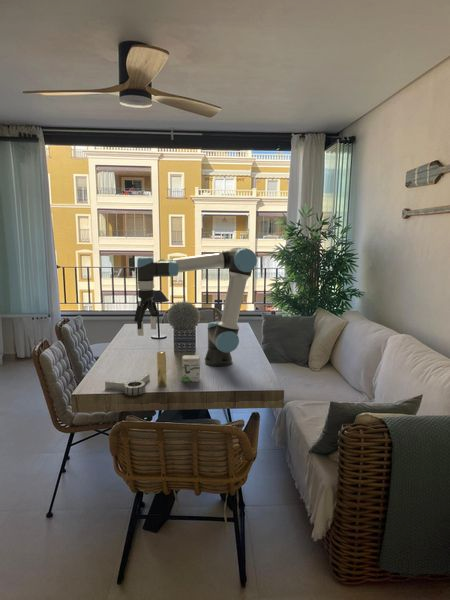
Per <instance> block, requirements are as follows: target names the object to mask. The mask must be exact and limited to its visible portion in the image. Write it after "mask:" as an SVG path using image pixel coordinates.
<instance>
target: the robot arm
mask: <svg viewBox="0 0 450 600" xmlns="http://www.w3.org/2000/svg"><path fill="white" fill-rule="evenodd" d="M136 262H137V263H136V266H137V267H136V269H137V271H136V272H137V273H136V274H137V289H138V290H137V294H138V296H137V297H138V298H139V299H140V300H137V302H136V309H135V315H134V320H133V321H134V322H135V323H137V325H136V326H137V337H138V336H141V337H143V336H144V322H143V319H144V317H145V313H146V311H147V310H148V312H149V314H150V315H151V316H150V330H157V317H158V316H159V311H158V307H157V303H156V298H155V290H154V288H155V283H154V281H155V280H154V278H158V277H160V278H161V277H162V278H163V277H170V278H172V277H177V276H178V275H179V273H184V272H191V271H200V270H201V271H202V270H209V269H210V270H211V269H217V268H218V269H219V268H220V269H222V270H223V269H228V273H229V275H230V278H229V281H228V287H227V291H226V296H225V300H224V305H223V309H222V314H221V318H220V321H209V323H208V324H207V351H206V353H205V358H204V363H205V364H206V365H208V366H211V367H225V366H229V365H231V364H232V362H233V357H232V354H231V353H232V352H234V351H235V350H237V349H238V346H239V344H240V338H239V331H240V327H239V326H238V321H239V318H240V317H239V316H240V312H241V309H242V303H243V299H244V294H245V289H246V285H247V280H248V279H249V278H250V277H252V272H253V270H254V269H255V268H256V266H257V262H258V258H257V255H256V253H255V252H254V251H253V250H252V249H250V248H247V247H233V248H230V249H229V248H228V249H226V250H219V251H218V252H217V253H207V254H201V255H191V256H184V257H176V258H166V259H163V258H162V259H159V260H156V261H155V260H154V258H153V257H150V256H149V257H148V256H144V257H143V256H142V257H141V256H140V257H138V258H137V260H136Z"/></svg>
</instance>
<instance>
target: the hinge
mask: <svg viewBox="0 0 450 600" xmlns="http://www.w3.org/2000/svg"><path fill="white" fill-rule="evenodd" d="M149 381H151V380H150V373H146V374H145V375H144V376H142V377H141V378H140V379H138V380H130V381H129V380H128V381H127V382H121V381H120V382H119V381H110V380H106V381H104V387H105V390H112V391H114V390H115V391H121V392H123V393H124V395H127V396H138V395H139V396H140V395H143V394H145V393H146V390H147V389H146V384H147V383H148V382H149Z"/></svg>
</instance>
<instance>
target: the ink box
mask: <svg viewBox="0 0 450 600" xmlns="http://www.w3.org/2000/svg"><path fill="white" fill-rule="evenodd" d="M181 357H182V358H181V360H182V361H181V363H182V366H181V369H182V370H181V371H182V374H181V375H182V376H181V378H182V379H181V380H182V383H185V382H189V383H190V382H191V381H192V382H200V380H201V379H200V377H201V376H200V375H201V366H200V365H201V361H200V360H201V359H200V355H199V354H198V355H193V354H192V355H191V354H190V355H182V356H181Z"/></svg>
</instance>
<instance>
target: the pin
mask: <svg viewBox="0 0 450 600" xmlns="http://www.w3.org/2000/svg"><path fill="white" fill-rule="evenodd" d="M166 353H167V351H164V350H163V351H162V350H161V351H157V352H156V364H157V365H156V366H157V371H156V372H157V387H159V388H164V387H166V386H167V356H166V355H167V354H166Z"/></svg>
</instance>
